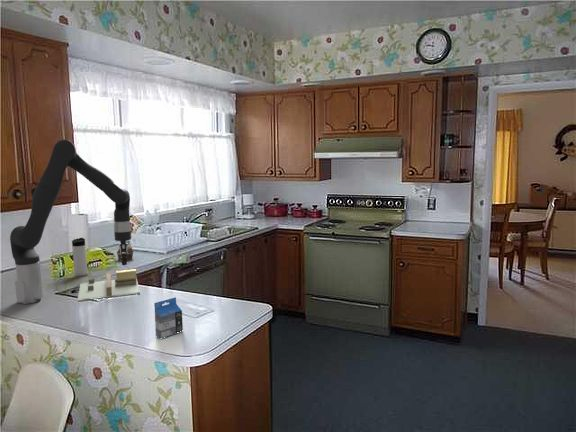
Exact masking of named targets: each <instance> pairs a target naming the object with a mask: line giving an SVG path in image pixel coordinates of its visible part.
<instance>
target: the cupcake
mask: <svg viewBox="0 0 576 432" xmlns="http://www.w3.org/2000/svg"><path fill="white" fill-rule="evenodd" d="M127 243H128V248H127V251H128V253H127V262H128V261H132V260H133V256H134V251H135V250H134V249H133V246H132V243H130V242H127ZM116 255H117V259H118V261H119V262H122V258H121V254H120V248H119V247H118V249H117V251H116Z"/></svg>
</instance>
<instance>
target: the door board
mask: <svg viewBox="0 0 576 432" xmlns="http://www.w3.org/2000/svg"><path fill="white" fill-rule="evenodd" d="M111 273H112V272H106V273H105V275H106V280H102V281H101V280H100V281H95V278H88V282H82V283H80V285H79V290H78V295H77V303H79V302H89V301H95V300H94V299H98V300H104V299H103V298H106V299H112V298H121V297H128V296H136V294H138V295H141V291H140V286H139V282H138V278H137V277H136V280H137V283H136V281H127V282H118V283H117V277H116V278H114V279H112V274H111Z"/></svg>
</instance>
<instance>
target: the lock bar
mask: <svg viewBox="0 0 576 432" xmlns="http://www.w3.org/2000/svg"><path fill="white" fill-rule="evenodd" d="M115 274H116V276H115V277H116V278H117V283H118V282H127V281H136V283H137V282H138V279H137V280H136V278H137V269H135V268H133V269H124V270H116V272H115Z"/></svg>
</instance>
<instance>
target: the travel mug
mask: <svg viewBox="0 0 576 432" xmlns="http://www.w3.org/2000/svg"><path fill="white" fill-rule="evenodd" d="M71 245H72V246H71V247H72V248H71V249H72V257H73V258H72V261H73V272H74V278H83V277H88V275H89V274H88V273H89V271H88V261H87V260H88V259H87V249H86V247H87V246H86V239H85V238H84V237H79V238H74V239H73V240H71Z"/></svg>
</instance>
